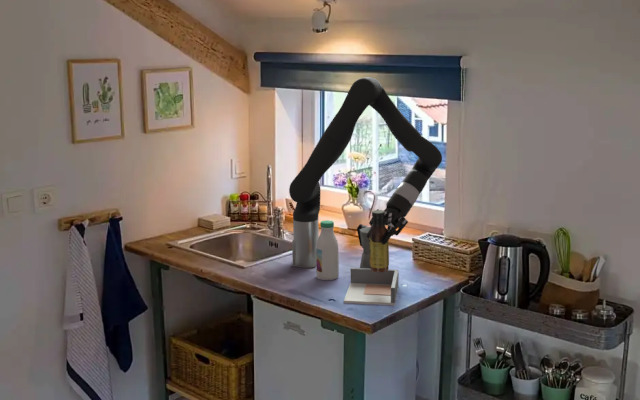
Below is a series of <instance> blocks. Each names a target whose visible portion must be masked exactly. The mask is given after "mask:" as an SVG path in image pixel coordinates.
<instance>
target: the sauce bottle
mask: <svg viewBox="0 0 640 400" xmlns="http://www.w3.org/2000/svg"><path fill="white" fill-rule="evenodd" d="M384 215H385V212H384V210H383V209H379V210H377V209H375V210H374V209H373V210H372V211H371V216H372V217H373V223H372V224H373V225H372V228H371V231H370V234H369V252H370V269H371V270H372V271H374V272H385V271H387V270H388V269H390V268H389V266H390V247H389V243H390V242H389V240H390V239H389V240H388V242H387V243H386V244H385V245H384V244H382V243H381V242H380V239H381V238H382V236H383V235H384V233H385V232H387V226H384ZM372 217H371V218H372Z"/></svg>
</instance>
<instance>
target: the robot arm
mask: <svg viewBox="0 0 640 400" xmlns="http://www.w3.org/2000/svg"><path fill="white" fill-rule="evenodd" d="M369 106H370V107H371V108H373V110H375V111H376V112H377V114H379V116H380V117H381V119H382V120H383V121H384V122H385V124H386V126H387V128H388V129H389V131H390V133H391V134H392V136H393V137H394V138H395V139H396V140H397V142H398V143H399V144H400V145H401V146H402V147H403V148H404V150H406V151H408V152H411V153H413V154H414V155H415V156H416V157H418V158H417V160H416V161H415V163H414V164H413V167H412V168H411V169H410V171H409V172H408V173H407V174H406V176H405V177H404V178H403V180H402V181H401V183H400V184H399V185H398V186H397V188H396V189H395V190H394V192H393V193H392V194H391V196H390V197H389V199H388V201H387V202H386V203H385V204H386V208H385V209H384V210H383V211H384V212H385V215H384V226H385V227H386V229H387V232H385V233H384V235H383V236H382V238H381V239H380V242H381V243H382V244H384V245H385V244H386V243H387V242H388V240H390V239H391V237H393V236H398V235H399V234H401V232H402V230H403V229H404V228H405V227H406V225H407V224H408V223H409V221H408V220H407V218H405V217H406V216H408V214H409V212H410V211H411V209H412V208H413V206H414V204H415V203H416V201H417V200H418V198H419V196H420V195H421V193H422V191H423V190H424V189H425V187H426V185H427V182H428V181H429V180H430V178H431V177H432V176H433V174H435V173H434V172H435V171H436V170H437V169H438V167H440V165H441V164H442V161H443V156H442V155H443V154H442V153H441V151H440V149H439V148H438V147H437V146H436V145H435V144H433V143H432V142H431V141H430V140H428V139H427V138H425V137H424V136H423V135H422V134H421V133H420V132H419V131H418V129H416V127H414V126H413V124H412V123H411V122H410V121H409V120H408V119H407V117H405V116H404V114H403V113H402V111H400V110H399V108H398V106H396V104H395V103H394V102H393V100H392V99H391V98H390V96H389V94H388V92H387V91H386V90H385V88H384V86H382V84H381V83H380V81H379V80H378V79H377V78H374V77H371V76H369V77H368V76H366V77H360V78H358V79H356V80H355V81H354V82H353V83H352V84H351V86H350V88H349V90H348V92H347V94H346V97H345V99H344V101H343V102H342V105H341V106H340V108H339V110H338V112H337V113H336V114H335V115H334V117H333V118H332V119H331V121H330V123H329V124H328V126H327V128H326V129H325V130H324V132H323V133H322V135H321V137H320V138H319V139H318V142H317V144H316V145H315V146H314V149H313V150H312V152H311V154H310V156H309V157H308V159H307V161H306V163H305V165H304V166H303V167H302V169H301V170H300V171H299V172H298V173H297V175H296V176H295V177H294V179H292V182H290V185H289V188H288V191H289V192H288V193H289V196H290V198H291V200H292V201H293V202H295V203H296V204H295V205H296V206H295V207H294V210H293V211H292V212H293V213H292V227H293V228H292V229H293V230H292V233H293V234H292V235H293V238H292V241H291V242H292V243H291V246H292V247H291V249H292V250H291V251H292V254H291V255H292V266H293V267H297V268H302V269H309V268H316V267H317V266H316V246H317V241H318V238H319V236H320V233H319V231H320V230H319V213H320V211H321V210H320V209H321V185H320V184H321V183H320V180H321V179H322V177H323V176H324V174H326V172H327V171H328V170H329V169H330V168H331V167H332V166H333V165H334V164H335V163H336V161H337V160H338V159H339V158H341V156H342V154H343V153H344V151H345V150H346V148H347V147H348V145H349V143H350V141H351V139H352V137H353V134H354V130H355V128H356V124H357V122H358V120H359V118H360V117H361V116H362V115H363V113H364V111H365V110H366V109H367V108H368V107H369ZM376 210H380V209H376ZM372 223H373V217H371V218H370V221H369V222H368V224H369V225H370V227H371V228H372V225H373V224H372ZM370 231H371V229H370V230H369V232H368V233H367V236H366V237H367V238H368V239H369V234H370Z"/></svg>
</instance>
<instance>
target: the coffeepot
mask: <svg viewBox="0 0 640 400" xmlns="http://www.w3.org/2000/svg"><path fill="white" fill-rule="evenodd" d="M370 229H371V226H367V225H363V224H362V223H360V224H359V225H358V226H357V227H356V233H357V235H358V236H357V237H358V241H359V245H360V247H361V248H362V253H361V259H360V265H359V268H370V252H369V239H368V238H367V237H366V236H367V233H368V232H369V230H370Z"/></svg>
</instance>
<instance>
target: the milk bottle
mask: <svg viewBox="0 0 640 400" xmlns="http://www.w3.org/2000/svg"><path fill="white" fill-rule="evenodd" d="M334 222H335V221H333V220H330V219H329V220H327V219H326V220H322V221H320V222H319V223H320V229H321V230H320V233H319V238H318V241H317V246H316V266H315V267H316V278H317V279H318V280H319V279H320V280H321V281H322V280H323V281H333V280H337V279H338V278H339V273H340V271H339V270H340V267H339V266H340V265H339V264H340V263H339V260H340V259H339V258H340V257H339V255H340V253H339V243H338V242H339V241H338V239H337V237H336V235H335V232H334V228H335V223H334Z"/></svg>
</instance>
